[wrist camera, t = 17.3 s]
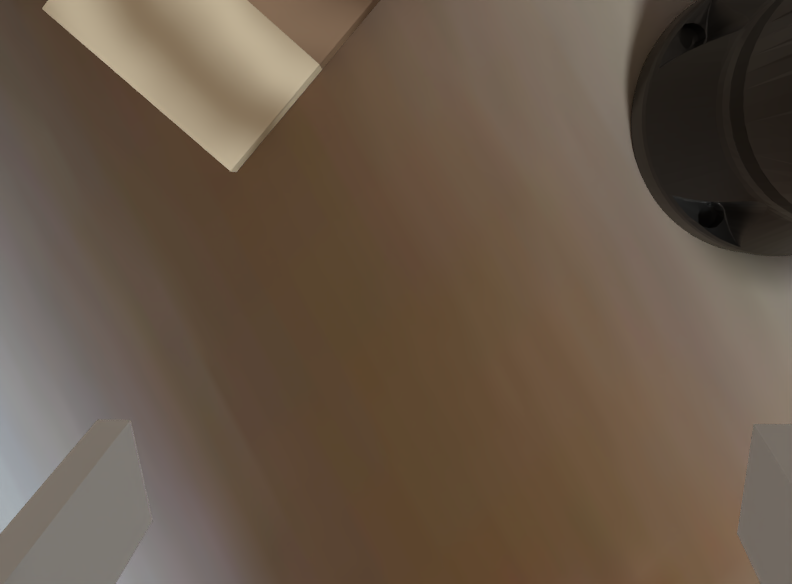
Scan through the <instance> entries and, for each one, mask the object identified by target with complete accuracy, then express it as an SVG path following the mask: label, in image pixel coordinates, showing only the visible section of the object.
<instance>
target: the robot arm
mask: <svg viewBox="0 0 792 584" xmlns="http://www.w3.org/2000/svg"><path fill="white" fill-rule="evenodd" d="M631 130H632V141H633V148H634V153H635V157H636V161H637V164H638V167H639V170H640V173H641V175H642V178H643V180H644V182H645V184H646V186H647V188H648V190H649V191H650V193H651V195H652V196H653V198H654V199H655V201H656V202H657V204H658V205H659V206H660V207H661V208H662V210H663V211H664V212H665V213H666V214H667V215H668V216H669V217H670V218H671V219H672V220H673V221H674V222H675V223H676V224H677V225H679V226H680V227H681V228H683V229H684V230H685V231H687V232H688V233H690V234H691V235H693V236H695V237H697V238H698V239H700V240H702V241H704V242H707V243H709V244H711V245H714V246H717V247H720V248H723V249H727V250H730V251H736V252H741V253H748V254H754V255H764V256H786V255H792V0H698V1H697V2H695V3H694V4H692V5H691V6H690V7H688V8H687V9H686V10H685V11H684V12H682V13H681V14H680V15H679V16H678V17H677V18H676V19H675V20H674V21H673V22H672V23H671V24H670V25H669V26H668V28H667V29H666V30H665V31H664V32H663V34H662V35H661V36H660V38H659V39H658V40H657V42H656V44H655V45H654V47H653V48H652V50H651V52H650V54H649V55H648V57H647V59H646V61H645V64H644V66H643V68H642V71H641V73H640V76H639V79H638V82H637V86H636V89H635V94H634V99H633V106H632V117H631ZM152 521H153V520H152V515H151V511H150V506H149V502H148V497H147V493H146V488H145V483H144V479H143V474H142V470H141V465H140V461H139V456H138V452H137V447H136V442H135V438H134V433H133V429H132V424H131V420H97V421H96V422H95V423H94V424H93V426H92V427H91V428H90V429H89V430H88V431H87V433H86V434H85V435H84V436H83V437H82V439H81V440H80V441H79V442H78V443H77V444H76V446H75V447H74V448H73V449H72V450H71V451H70V453H69V454H68V455H67V456H66V457H65V459H64V460H63V461H62V462H61V463H60V464H59V466H58V467H57V468H56V469H55V470H54V471H53V473H52V474H51V475H50V476H49V477H48V479H47V480H46V481H45V482H44V483H43V484H42V486H41V487H40V488H39V489H38V490H37V491H36V493H35V494H34V495H33V496H32V497H31V499H30V500H29V501H28V502H27V503H26V504H25V506H24V507H23V508H22V509H21V510H20V511H19V513H18V514H17V515H16V516H15V517H14V519H13V520H12V521H11V522H10V523H9V524H8V526H7V527H6V528H5V529H4V530H3V531H2V533H1V534H0V584H116V582H117V580H118V579H119V577H120V575H121V574H122V572H123V570H124V569H125V567H126V565H127V563H128V562H129V560H130V558H131V557H132V555H133V553H134V552H135V550H136V548H137V547H138V545H139V543H140V541H141V540H142V538H143V536H144V535H145V533H146V531H147V530H148V528H149V526H150V525H151V523H152ZM737 534H738V536H739V538H740V540H741V543H742V545H743V547H744V549H745V551H746V553H747V555H748V558H749V560H750V562H751V564H752V566H753V568H754V570H755V572H756V575H757V577H758V579H759V581H760V583H761V584H792V424H754V425H753V432H752V439H751V445H750V452H749V459H748V465H747V472H746V479H745V485H744V492H743V499H742V505H741V512H740V519H739V526H738V532H737Z"/></svg>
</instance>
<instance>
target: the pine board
mask: <svg viewBox="0 0 792 584" xmlns="http://www.w3.org/2000/svg"><path fill="white" fill-rule="evenodd" d="M379 1H380V0H48V1H47V3H46V4H45V5H44V7H43V8H42V9H43V10H44V11H45V12H46V13H48V14H49V15H50V16H51V17H52V18H53V19H55V20H56V21H57V22H58V23H59V24H60V25H62V26H63V27H64V28H65V29H66V30H67V31H69V32H70V33H71V34H72V35H73V36H74V37H75V38H77V39H78V40H79V41H80V42H81V43H82V44H84V45H85V46H86V47H87V48H88V49H89V50H91V51H92V52H93V53H94V54H95V55H96V56H97V57H99V58H100V59H101V60H102V61H103V62H104V63H106V64H107V65H108V66H109V67H110V68H111V69H113V70H114V71H115V72H116V73H117V74H118V75H119V76H121V77H122V78H123V79H124V80H125V81H126V82H128V83H129V84H130V85H131V86H132V87H133V88H135V89H136V90H137V91H138V92H139V93H140V94H142V95H143V96H144V97H145V98H146V99H147V100H148V101H150V102H151V103H152V104H153V105H154V106H155V107H157V108H158V109H159V110H160V111H161V112H162V113H164V114H165V115H166V116H167V117H168V118H169V119H170V120H172V121H173V122H174V123H175V124H176V125H177V126H179V127H180V128H181V129H182V130H183V131H184V132H186V133H187V134H188V135H189V136H190V137H191V138H193V139H194V140H195V141H196V142H197V143H198V144H199V145H201V146H202V147H203V148H204V149H205V150H206V151H208V152H209V153H210V154H211V155H212V156H213V157H215V158H216V159H217V160H218V161H219V162H220V163H221V164H223V165H224V166H225V167H226V168H227V169H228V170H230V171H232V172H237V171H238V170H239V168H240V167H241V166H242V165H243V164H244V162H245V161H246V160H247V159H248V158H249V156H250V155H251V154H252V153H253V152H254V150H255V149H256V148H257V147H258V146H259V144H260V143H261V142H262V141H263V140H264V138H265V137H266V136H267V135H268V134H269V133H270V131H271V130H272V129H273V128H274V127H275V125H276V124H277V123H278V122H279V121H280V119H281V118H282V117H283V116H284V115H285V113H286V112H287V111H288V110H289V109H290V107H291V106H292V105H293V104H294V103H295V101H296V100H297V99H298V98H299V97H300V95H301V94H302V93H303V92H304V91H305V89H306V88H307V87H308V86H309V85H310V83H311V82H312V81H313V80H314V79H315V77H316V76H317V75H318V74H319V73H320V71H321V70H322V69H323V68H324V67H325V65H326V64H327V63H328V62H329V61H330V60H331V58H332V57H333V56H334V55H335V54H336V52H337V51H338V50H339V49H340V48H341V46H342V45H343V44H344V43H345V42H346V40H347V39H348V38H349V37H350V36H351V34H352V33H353V32H354V31H355V30H356V28H357V27H358V26H359V25H360V24H361V22H362V21H363V20H364V19H365V18H366V16H367V15H368V14H369V13H370V12H371V10H372V9H373V8H374V7H375V6H376V4H377V3H378V2H379Z"/></svg>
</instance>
